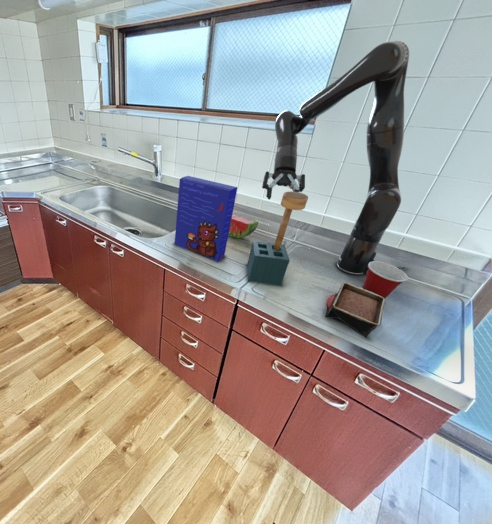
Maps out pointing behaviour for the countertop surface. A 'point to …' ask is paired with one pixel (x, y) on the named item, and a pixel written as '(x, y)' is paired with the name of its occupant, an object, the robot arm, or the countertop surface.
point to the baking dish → (356, 308)
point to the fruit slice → (241, 227)
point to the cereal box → (204, 216)
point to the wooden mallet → (289, 212)
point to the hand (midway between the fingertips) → (281, 199)
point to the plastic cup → (383, 278)
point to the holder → (267, 263)
